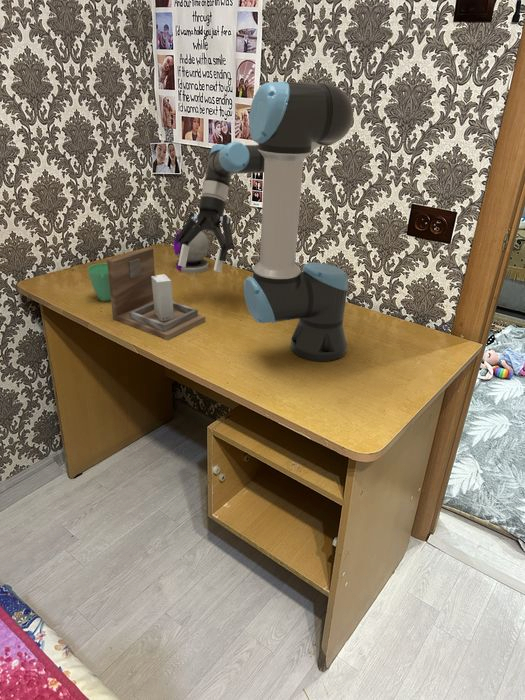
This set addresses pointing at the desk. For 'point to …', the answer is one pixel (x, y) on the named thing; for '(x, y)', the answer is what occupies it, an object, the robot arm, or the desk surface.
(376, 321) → the desk surface
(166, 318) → the skincare box
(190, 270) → the webcam
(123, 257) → the brown l-shaped piece
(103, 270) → the mug
